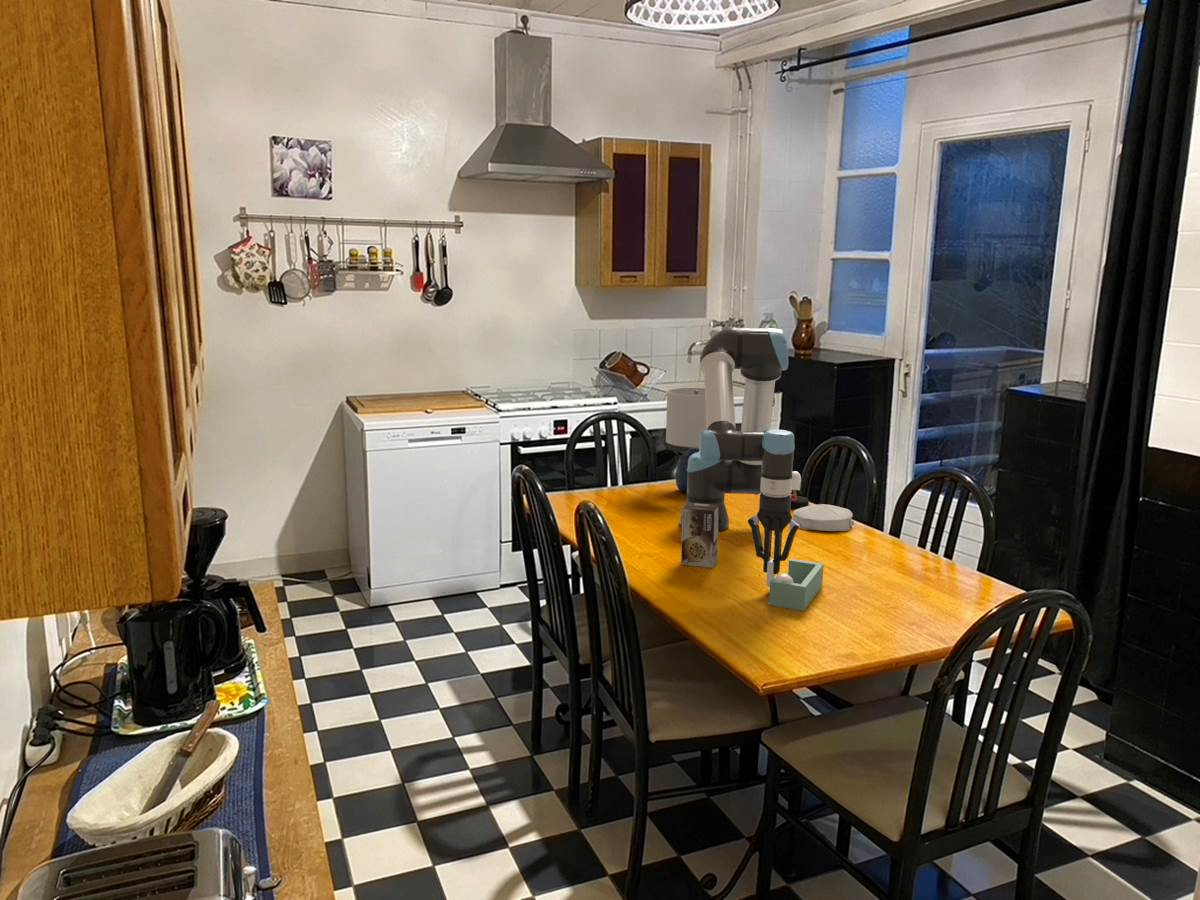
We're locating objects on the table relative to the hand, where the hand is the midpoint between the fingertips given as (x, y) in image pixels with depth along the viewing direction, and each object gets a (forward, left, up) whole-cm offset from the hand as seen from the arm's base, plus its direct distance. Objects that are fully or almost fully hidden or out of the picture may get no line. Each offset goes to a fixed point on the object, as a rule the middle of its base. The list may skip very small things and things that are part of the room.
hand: (770, 585), depth 225 cm
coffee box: (-23, +12, -2) cm, 26 cm away
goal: (+6, 0, -2) cm, 6 cm away
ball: (+3, 0, +1) cm, 3 cm away
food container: (-2, +67, -2) cm, 67 cm away
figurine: (-16, +84, -2) cm, 86 cm away
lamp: (-52, +85, -2) cm, 100 cm away
